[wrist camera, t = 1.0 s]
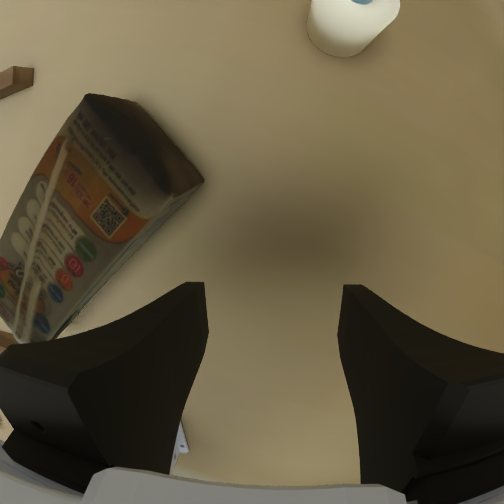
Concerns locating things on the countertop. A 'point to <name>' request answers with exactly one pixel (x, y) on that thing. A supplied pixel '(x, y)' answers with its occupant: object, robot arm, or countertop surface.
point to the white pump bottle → (348, 24)
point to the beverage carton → (87, 213)
